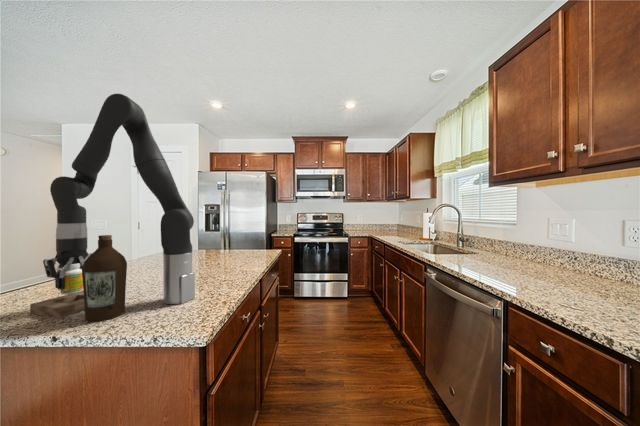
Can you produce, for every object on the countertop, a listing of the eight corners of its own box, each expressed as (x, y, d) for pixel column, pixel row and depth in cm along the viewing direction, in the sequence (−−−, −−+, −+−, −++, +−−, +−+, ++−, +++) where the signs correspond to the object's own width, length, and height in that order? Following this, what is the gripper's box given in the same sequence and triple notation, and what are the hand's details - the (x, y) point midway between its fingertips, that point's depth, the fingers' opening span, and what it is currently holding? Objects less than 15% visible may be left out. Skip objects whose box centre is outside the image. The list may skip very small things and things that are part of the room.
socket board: (110, 302, 89) (110, 293, 89) (60, 318, 75) (60, 308, 75) (82, 298, 93) (82, 290, 93) (30, 313, 79) (30, 304, 79)
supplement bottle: (68, 295, 81) (68, 265, 81) (56, 294, 82) (56, 264, 82) (87, 290, 86) (87, 262, 86) (75, 289, 87) (75, 261, 87)
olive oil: (90, 312, 80) (90, 234, 80) (131, 306, 84) (130, 233, 84) (75, 325, 70) (74, 237, 70) (121, 318, 75) (121, 236, 75)
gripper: (52, 239, 76) (52, 294, 76) (103, 235, 90) (103, 281, 90) (35, 238, 78) (35, 292, 78) (88, 234, 92) (88, 280, 92)
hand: (72, 286), depth 84 cm, fingers closed on supplement bottle, 5 cm apart
